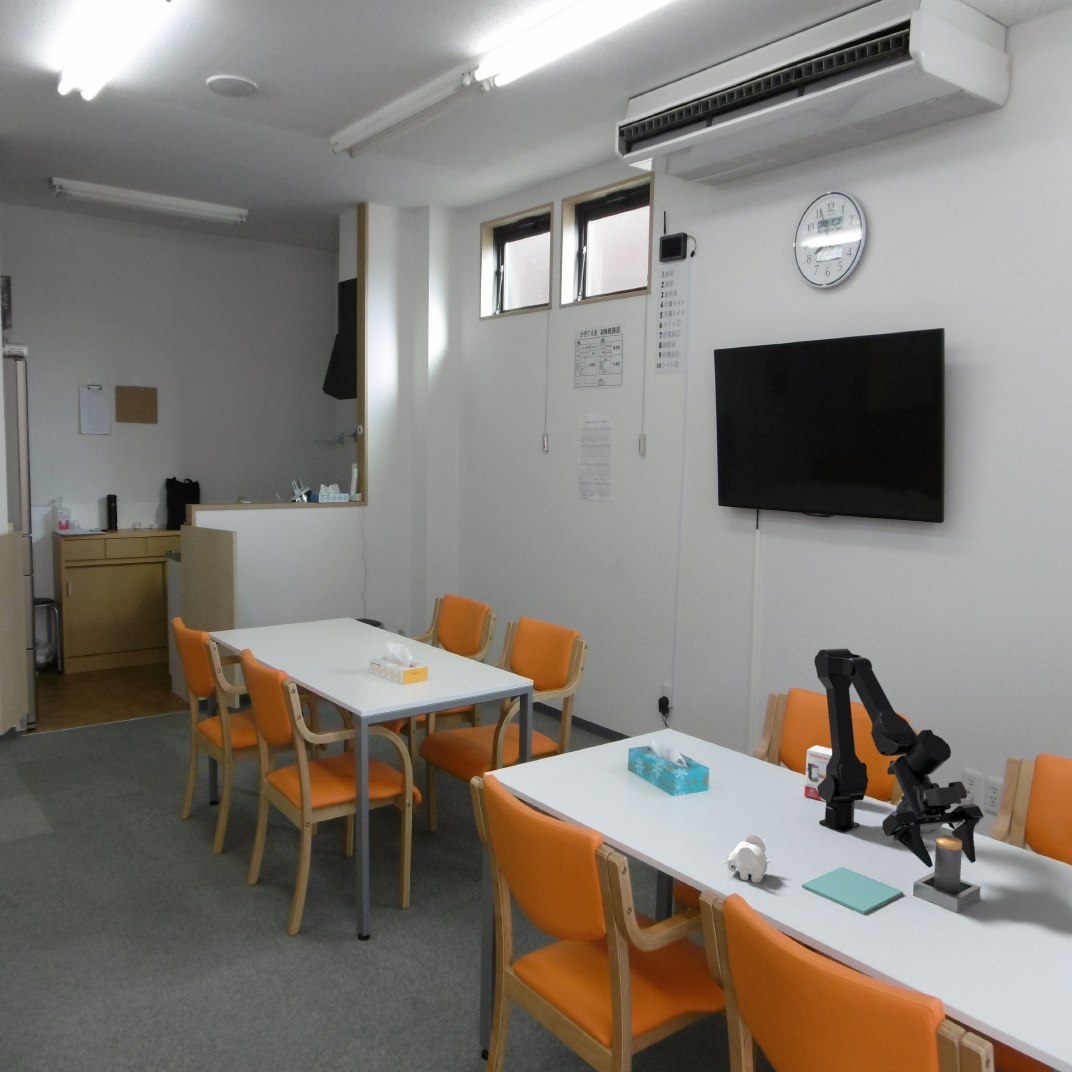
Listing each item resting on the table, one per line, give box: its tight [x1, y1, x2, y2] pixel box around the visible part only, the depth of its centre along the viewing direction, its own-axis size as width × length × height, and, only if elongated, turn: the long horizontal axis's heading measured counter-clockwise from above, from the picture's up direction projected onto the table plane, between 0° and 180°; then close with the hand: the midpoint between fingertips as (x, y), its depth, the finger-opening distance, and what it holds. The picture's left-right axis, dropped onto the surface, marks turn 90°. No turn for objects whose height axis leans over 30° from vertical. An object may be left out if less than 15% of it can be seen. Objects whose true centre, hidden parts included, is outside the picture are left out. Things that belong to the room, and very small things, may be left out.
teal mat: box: [801, 866, 904, 915], centre depth 171 cm, size 13×13×1 cm
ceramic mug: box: [895, 799, 944, 833], centre depth 202 cm, size 10×8×7 cm
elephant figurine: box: [721, 834, 773, 884], centre depth 176 cm, size 8×10×7 cm
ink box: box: [804, 745, 832, 802], centre depth 219 cm, size 9×5×12 cm, turn 50°
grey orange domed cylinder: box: [934, 835, 963, 896], centre depth 168 cm, size 4×4×11 cm
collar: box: [912, 871, 981, 914], centre depth 169 cm, size 8×8×2 cm
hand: (952, 864), depth 167 cm, fingers open, 9 cm apart
